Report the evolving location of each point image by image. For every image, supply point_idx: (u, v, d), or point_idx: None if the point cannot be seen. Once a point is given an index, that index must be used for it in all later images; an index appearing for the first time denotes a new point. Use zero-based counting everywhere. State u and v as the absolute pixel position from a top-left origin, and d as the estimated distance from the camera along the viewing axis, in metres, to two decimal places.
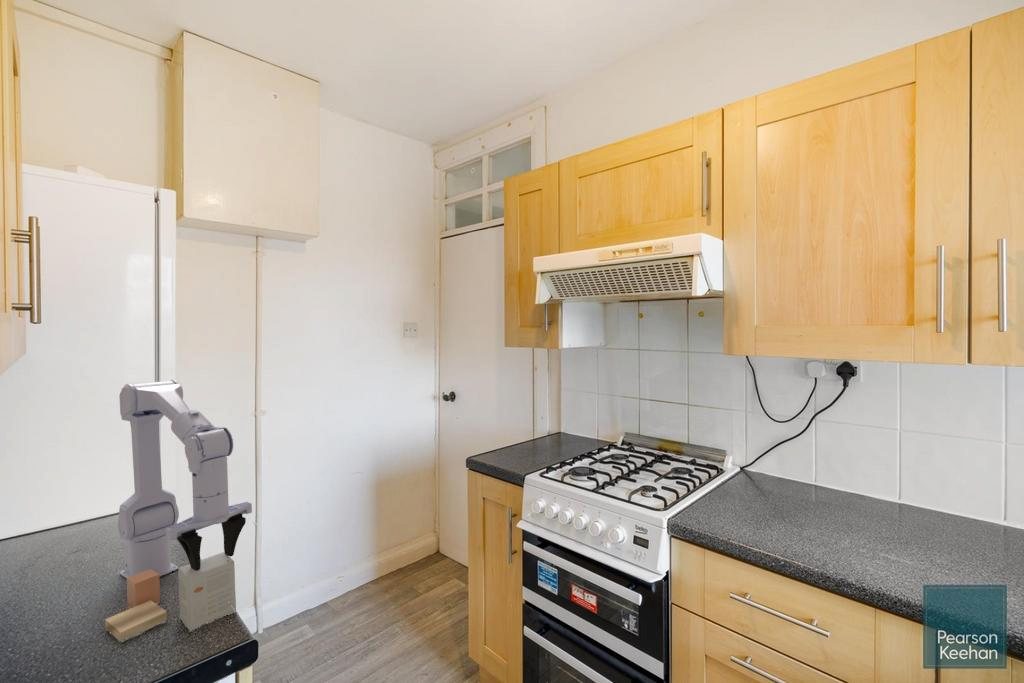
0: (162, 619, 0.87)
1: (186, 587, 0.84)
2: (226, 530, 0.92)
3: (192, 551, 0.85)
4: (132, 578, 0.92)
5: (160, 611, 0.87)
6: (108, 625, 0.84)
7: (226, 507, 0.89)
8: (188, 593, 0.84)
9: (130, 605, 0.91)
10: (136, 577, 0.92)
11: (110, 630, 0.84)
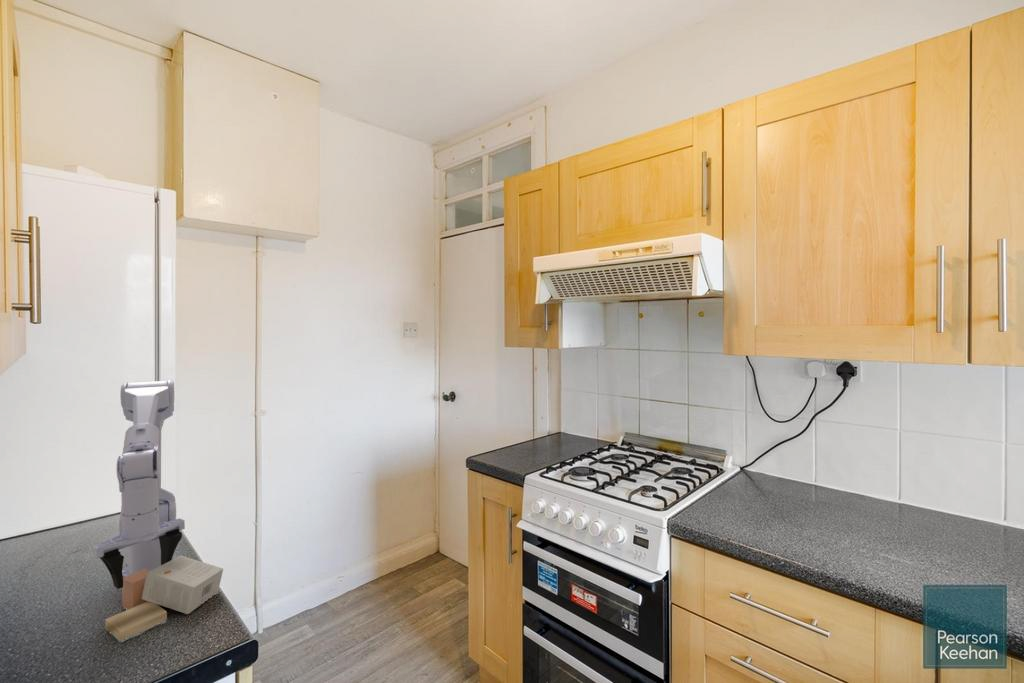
0: (162, 619, 0.87)
1: (154, 578, 0.90)
2: (163, 545, 0.96)
3: (114, 570, 0.87)
4: (127, 578, 0.91)
5: (160, 611, 0.87)
6: (108, 625, 0.84)
7: (156, 525, 0.92)
8: (160, 576, 0.90)
9: (126, 605, 0.91)
10: (131, 577, 0.92)
11: (110, 630, 0.84)
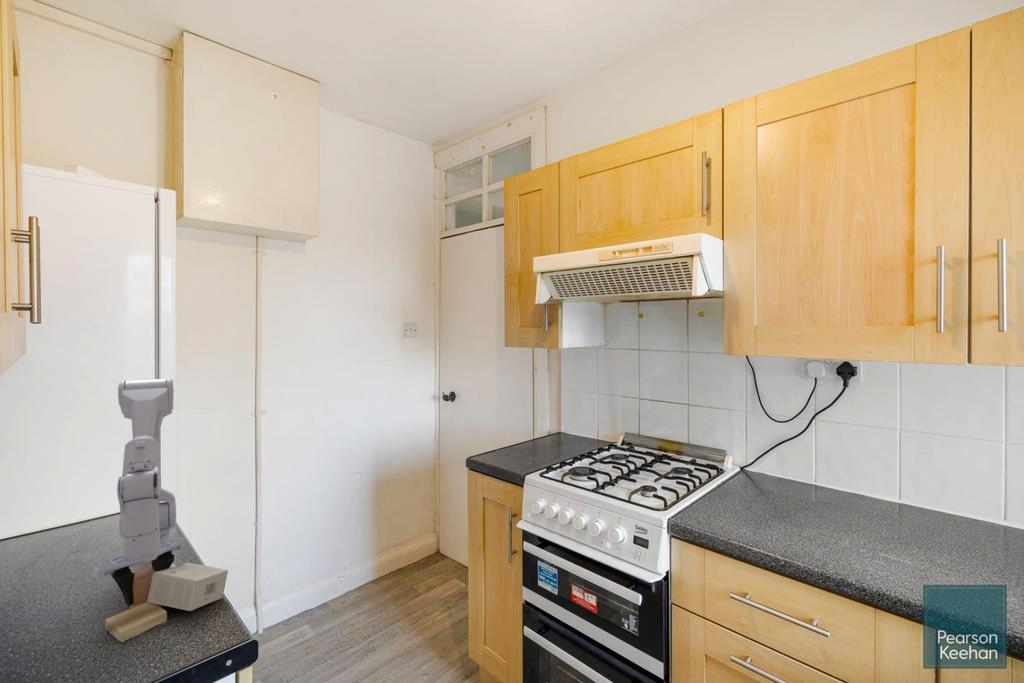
0: (162, 619, 0.87)
1: (160, 577, 0.90)
2: (155, 567, 0.94)
3: (124, 587, 0.88)
4: None
5: (160, 611, 0.87)
6: (108, 625, 0.84)
7: (157, 545, 0.92)
8: (165, 574, 0.90)
9: None
10: None
11: (110, 630, 0.84)
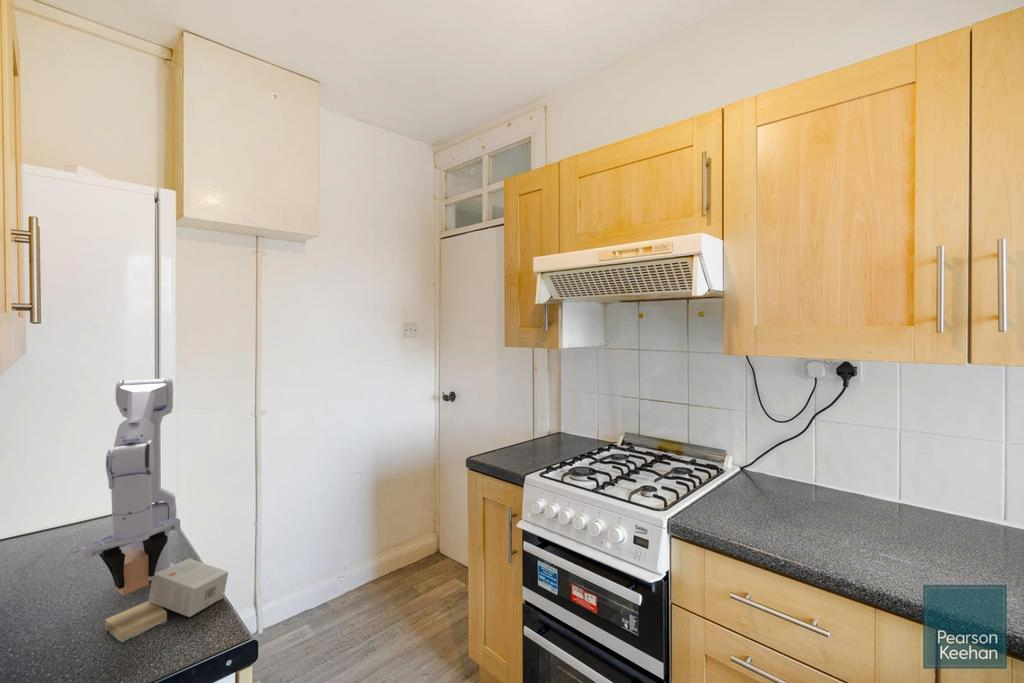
0: (162, 619, 0.87)
1: (159, 579, 0.89)
2: (147, 549, 0.88)
3: (114, 569, 0.82)
4: None
5: (160, 611, 0.87)
6: (108, 625, 0.84)
7: (149, 524, 0.86)
8: (164, 578, 0.89)
9: None
10: None
11: (110, 630, 0.84)
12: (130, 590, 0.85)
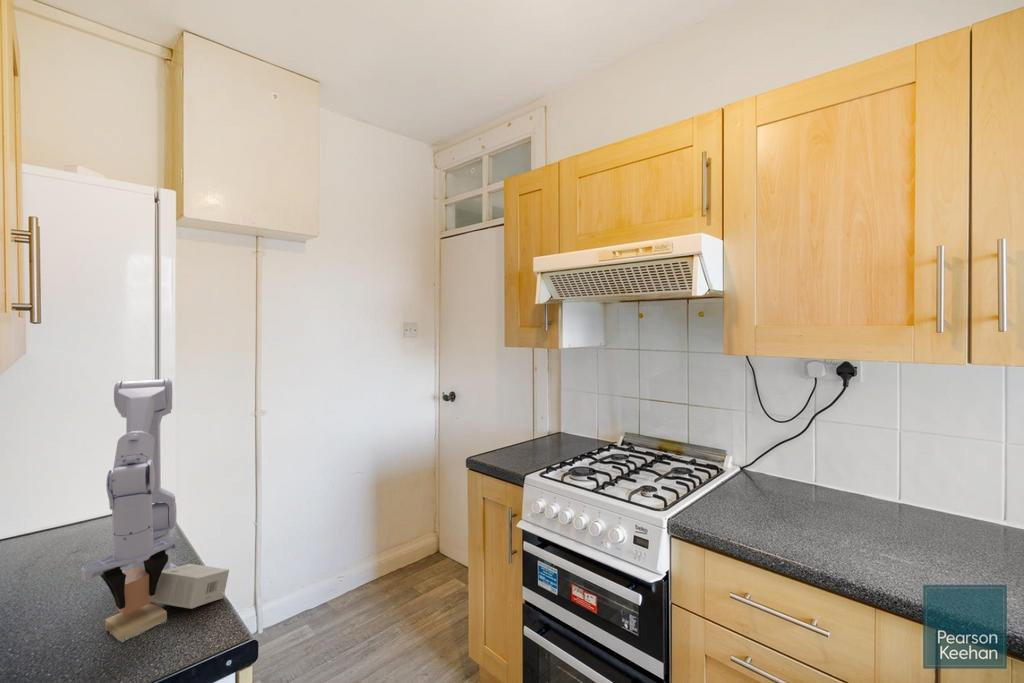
0: (162, 619, 0.87)
1: (161, 575, 0.91)
2: (147, 568, 0.88)
3: (115, 589, 0.82)
4: None
5: (160, 611, 0.87)
6: (108, 625, 0.84)
7: (150, 544, 0.86)
8: (167, 573, 0.91)
9: None
10: None
11: (110, 630, 0.84)
12: (131, 610, 0.85)
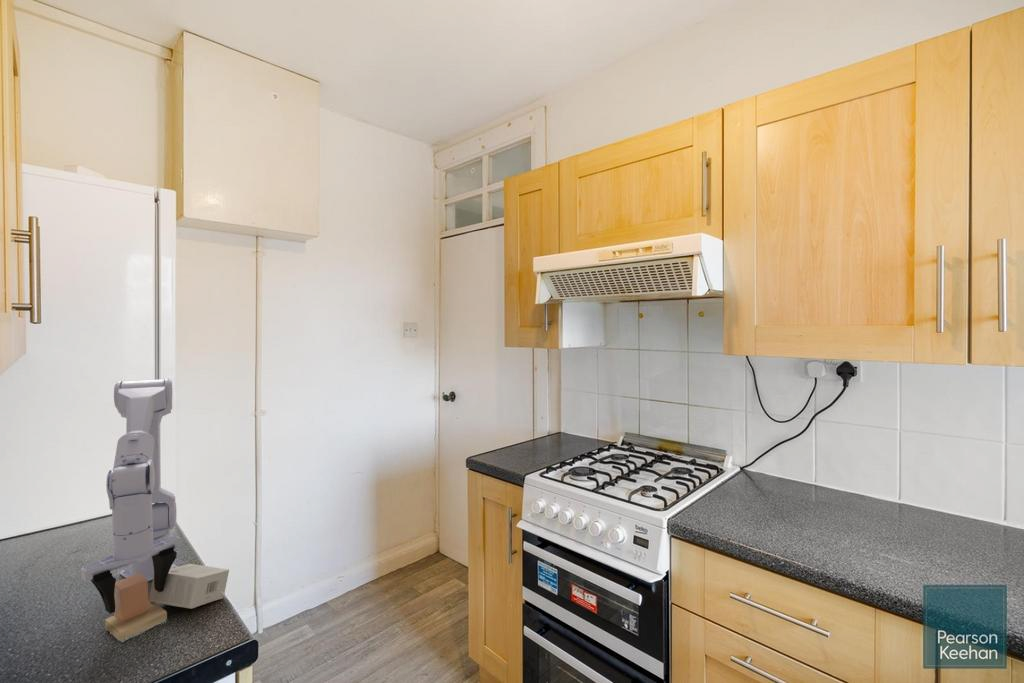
0: (162, 619, 0.87)
1: None
2: (156, 565, 0.89)
3: (105, 594, 0.81)
4: (119, 583, 0.86)
5: (160, 611, 0.87)
6: (108, 625, 0.84)
7: (150, 544, 0.86)
8: None
9: (116, 612, 0.86)
10: (123, 582, 0.86)
11: (110, 630, 0.84)
12: (129, 616, 0.85)
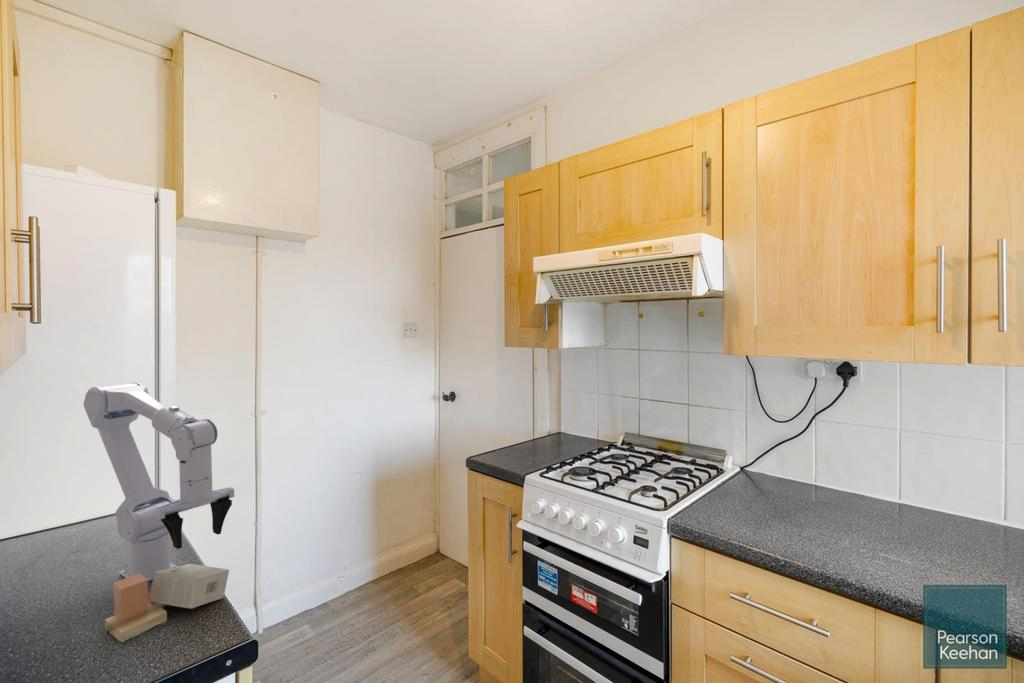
0: (162, 619, 0.87)
1: (161, 575, 0.91)
2: (214, 511, 1.03)
3: (174, 531, 0.94)
4: (119, 583, 0.86)
5: (160, 611, 0.87)
6: (108, 625, 0.84)
7: (210, 491, 0.99)
8: (167, 573, 0.91)
9: (116, 612, 0.86)
10: (123, 582, 0.86)
11: (110, 630, 0.84)
12: (129, 616, 0.85)
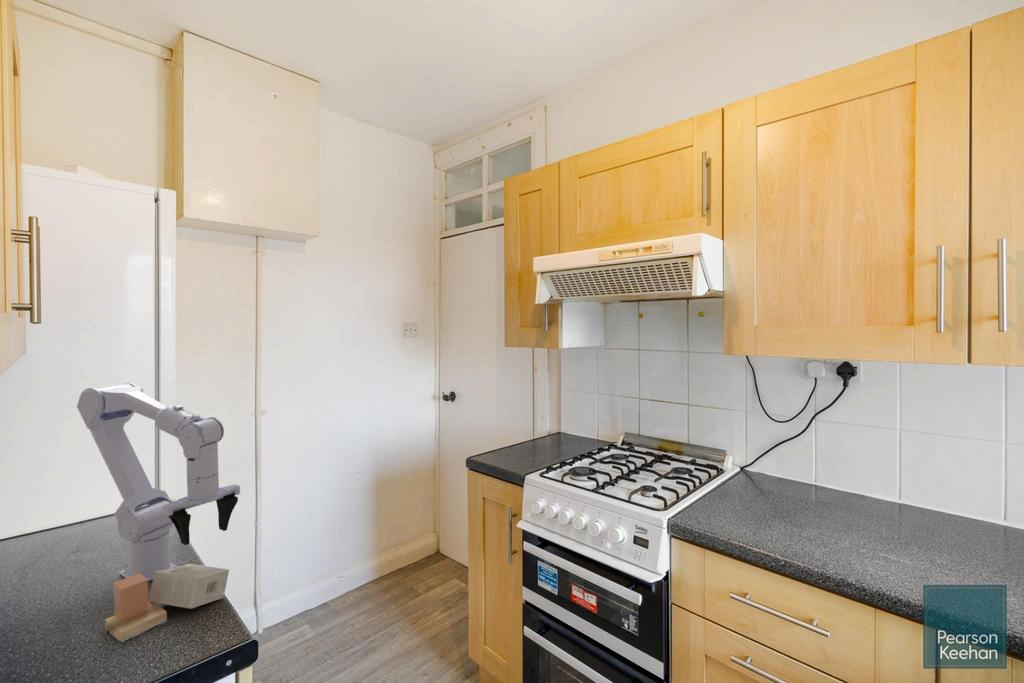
0: (162, 619, 0.87)
1: (161, 575, 0.91)
2: (220, 508, 1.04)
3: (182, 527, 0.96)
4: (119, 583, 0.86)
5: (160, 611, 0.87)
6: (108, 625, 0.84)
7: (217, 488, 1.01)
8: (167, 573, 0.91)
9: (116, 612, 0.86)
10: (123, 582, 0.86)
11: (110, 630, 0.84)
12: (129, 616, 0.85)
